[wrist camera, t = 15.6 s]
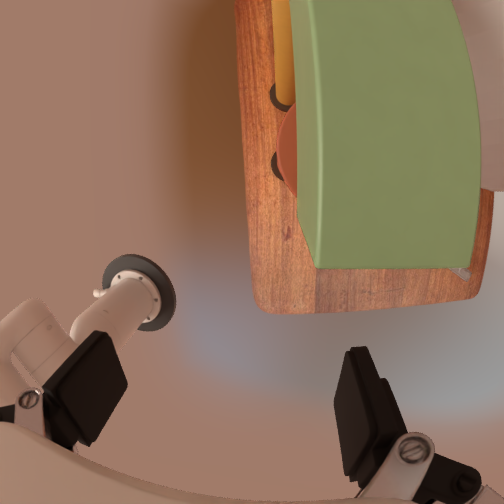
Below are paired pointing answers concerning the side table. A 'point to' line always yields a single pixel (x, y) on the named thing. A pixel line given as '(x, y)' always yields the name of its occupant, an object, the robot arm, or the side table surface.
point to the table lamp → (487, 80)
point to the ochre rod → (283, 57)
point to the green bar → (385, 134)
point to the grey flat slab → (462, 273)
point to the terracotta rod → (287, 151)
